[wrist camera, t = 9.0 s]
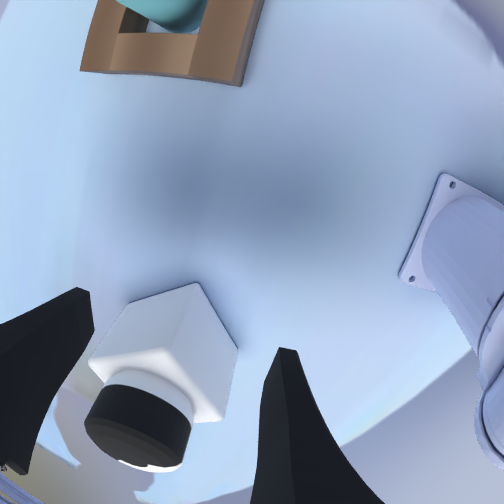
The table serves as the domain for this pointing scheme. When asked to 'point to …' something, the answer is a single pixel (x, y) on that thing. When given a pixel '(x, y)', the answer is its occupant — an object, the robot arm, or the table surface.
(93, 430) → the medicine bottle
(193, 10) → the peg
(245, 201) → the table surface
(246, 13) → the socket block
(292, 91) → the table surface
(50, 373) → the robot arm
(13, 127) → the table surface
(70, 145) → the table surface
